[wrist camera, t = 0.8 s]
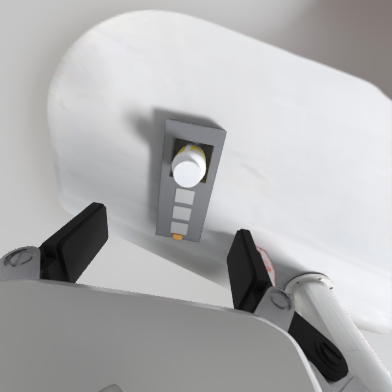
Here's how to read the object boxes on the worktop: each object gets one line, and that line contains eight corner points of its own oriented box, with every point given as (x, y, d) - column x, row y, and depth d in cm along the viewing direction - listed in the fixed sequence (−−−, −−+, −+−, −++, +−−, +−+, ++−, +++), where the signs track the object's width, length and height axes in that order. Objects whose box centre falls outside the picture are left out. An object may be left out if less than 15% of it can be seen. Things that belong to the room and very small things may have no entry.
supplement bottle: (179, 171, 33) (169, 192, 24) (176, 143, 31) (165, 155, 22) (205, 170, 33) (206, 191, 24) (205, 142, 30) (205, 154, 22)
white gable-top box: (256, 260, 43) (269, 298, 34) (236, 249, 42) (244, 285, 33) (266, 251, 42) (283, 289, 33) (245, 240, 40) (257, 275, 31)
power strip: (199, 233, 40) (198, 244, 37) (158, 226, 40) (154, 236, 36) (224, 130, 29) (227, 132, 26) (169, 119, 29) (165, 119, 26)
